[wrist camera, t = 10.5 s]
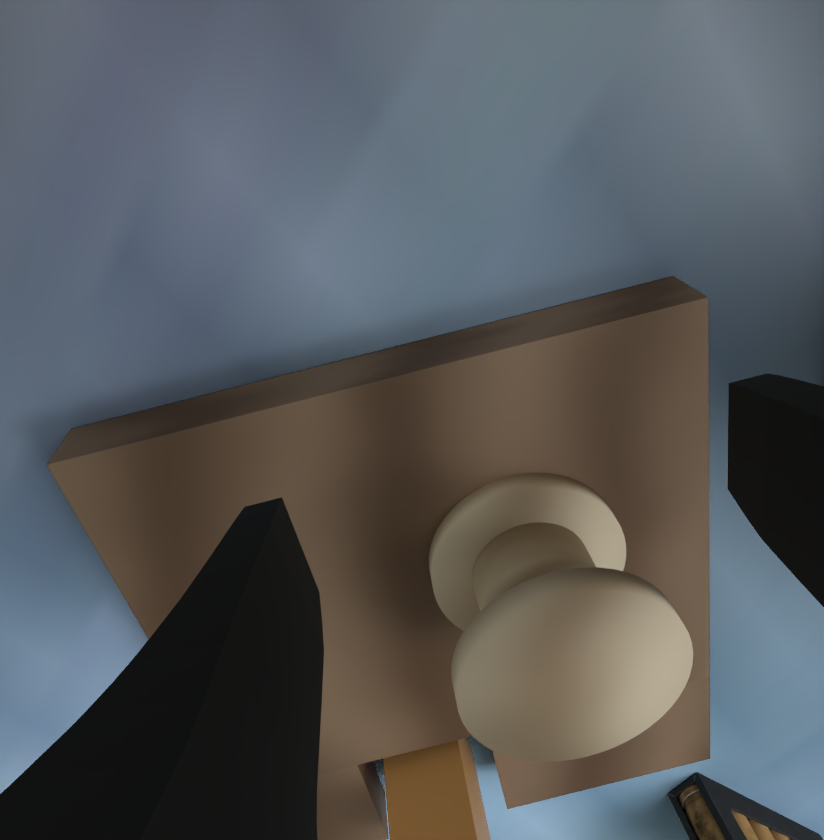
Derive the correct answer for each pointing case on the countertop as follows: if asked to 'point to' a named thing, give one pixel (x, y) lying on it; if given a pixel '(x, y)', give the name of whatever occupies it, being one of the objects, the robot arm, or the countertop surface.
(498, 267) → the countertop surface
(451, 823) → the block
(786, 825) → the ammunition clip
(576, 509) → the mushroom shaped handle
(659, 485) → the notched board
